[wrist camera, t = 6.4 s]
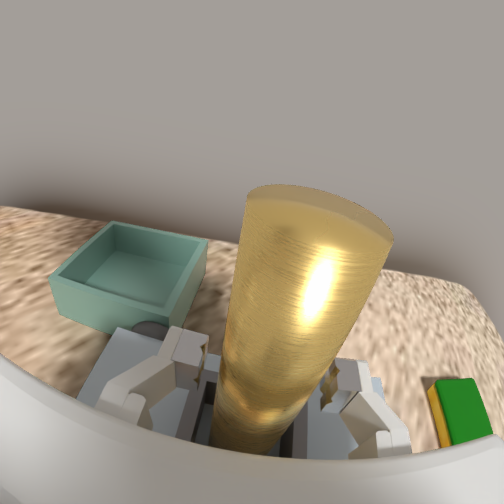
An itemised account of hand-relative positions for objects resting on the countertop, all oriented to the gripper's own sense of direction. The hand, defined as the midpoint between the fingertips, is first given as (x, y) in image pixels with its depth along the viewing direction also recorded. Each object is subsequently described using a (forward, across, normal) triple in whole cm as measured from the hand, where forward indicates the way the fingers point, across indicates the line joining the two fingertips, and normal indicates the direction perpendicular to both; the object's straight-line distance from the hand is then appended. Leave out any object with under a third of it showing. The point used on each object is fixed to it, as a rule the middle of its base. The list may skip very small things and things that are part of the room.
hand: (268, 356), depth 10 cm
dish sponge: (+1, -24, +14) cm, 28 cm away
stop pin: (-1, 0, +8) cm, 9 cm away
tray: (+15, +14, +13) cm, 24 cm away
